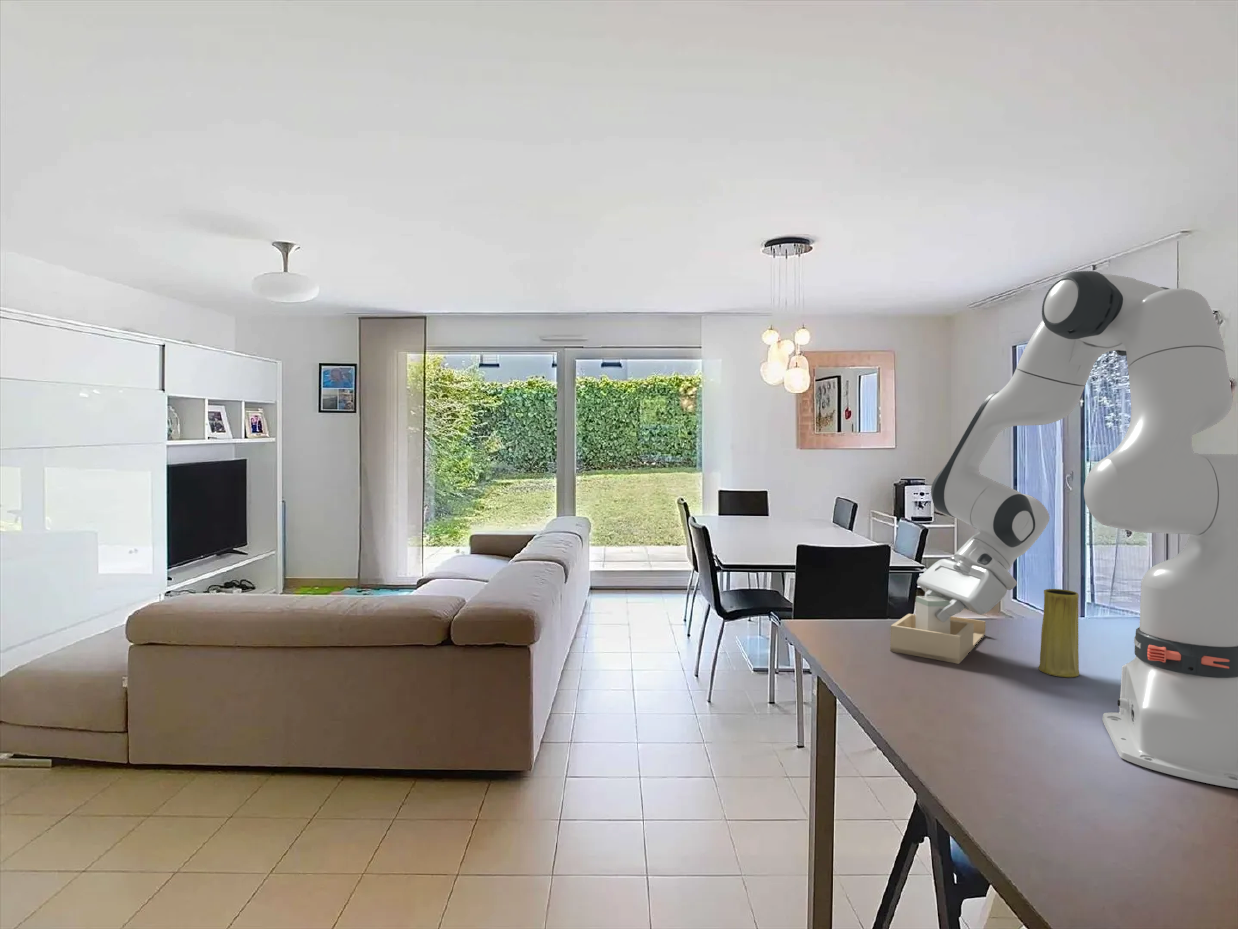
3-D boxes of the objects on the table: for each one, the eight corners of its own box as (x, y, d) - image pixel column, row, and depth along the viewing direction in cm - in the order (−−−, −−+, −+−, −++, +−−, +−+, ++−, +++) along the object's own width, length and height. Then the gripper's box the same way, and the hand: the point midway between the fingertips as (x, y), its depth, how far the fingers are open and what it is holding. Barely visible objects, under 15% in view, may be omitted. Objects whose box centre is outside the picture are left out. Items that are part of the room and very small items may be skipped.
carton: (949, 647, 135) (950, 601, 135) (927, 648, 135) (928, 601, 134) (937, 641, 140) (937, 596, 139) (915, 641, 139) (915, 596, 139)
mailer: (959, 663, 129) (959, 636, 129) (890, 651, 136) (890, 625, 136) (985, 635, 148) (985, 611, 148) (923, 625, 156) (924, 603, 155)
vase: (1067, 667, 127) (1070, 588, 127) (1086, 678, 121) (1089, 596, 121) (1032, 666, 128) (1034, 587, 127) (1049, 677, 122) (1051, 595, 121)
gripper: (938, 545, 148) (893, 592, 147) (1001, 561, 127) (948, 616, 127) (958, 566, 148) (913, 613, 148) (1023, 586, 128) (971, 640, 127)
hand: (929, 615), depth 137 cm, fingers open, 5 cm apart
